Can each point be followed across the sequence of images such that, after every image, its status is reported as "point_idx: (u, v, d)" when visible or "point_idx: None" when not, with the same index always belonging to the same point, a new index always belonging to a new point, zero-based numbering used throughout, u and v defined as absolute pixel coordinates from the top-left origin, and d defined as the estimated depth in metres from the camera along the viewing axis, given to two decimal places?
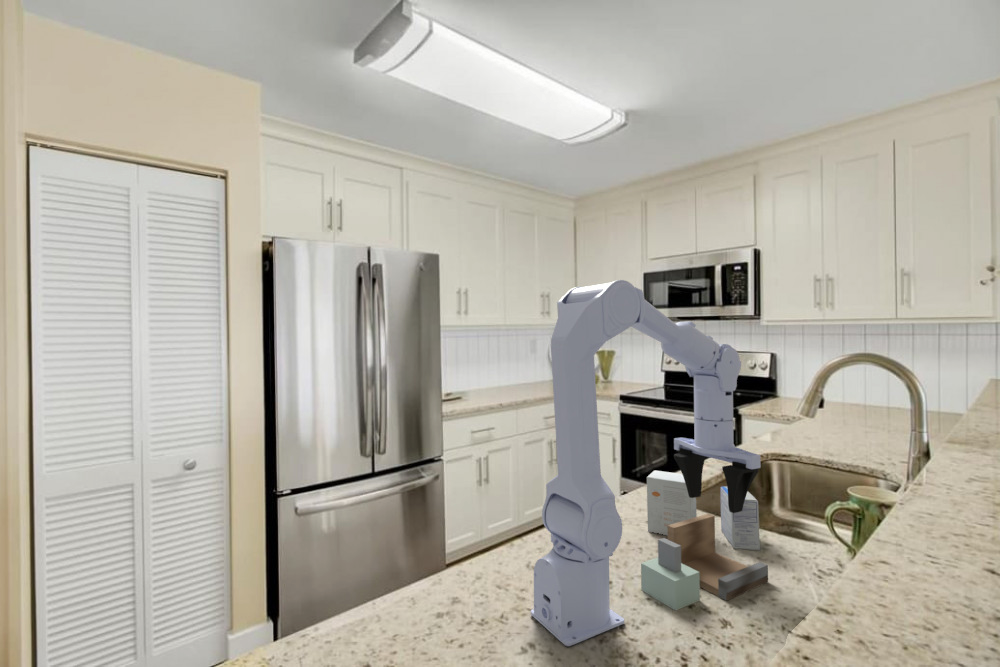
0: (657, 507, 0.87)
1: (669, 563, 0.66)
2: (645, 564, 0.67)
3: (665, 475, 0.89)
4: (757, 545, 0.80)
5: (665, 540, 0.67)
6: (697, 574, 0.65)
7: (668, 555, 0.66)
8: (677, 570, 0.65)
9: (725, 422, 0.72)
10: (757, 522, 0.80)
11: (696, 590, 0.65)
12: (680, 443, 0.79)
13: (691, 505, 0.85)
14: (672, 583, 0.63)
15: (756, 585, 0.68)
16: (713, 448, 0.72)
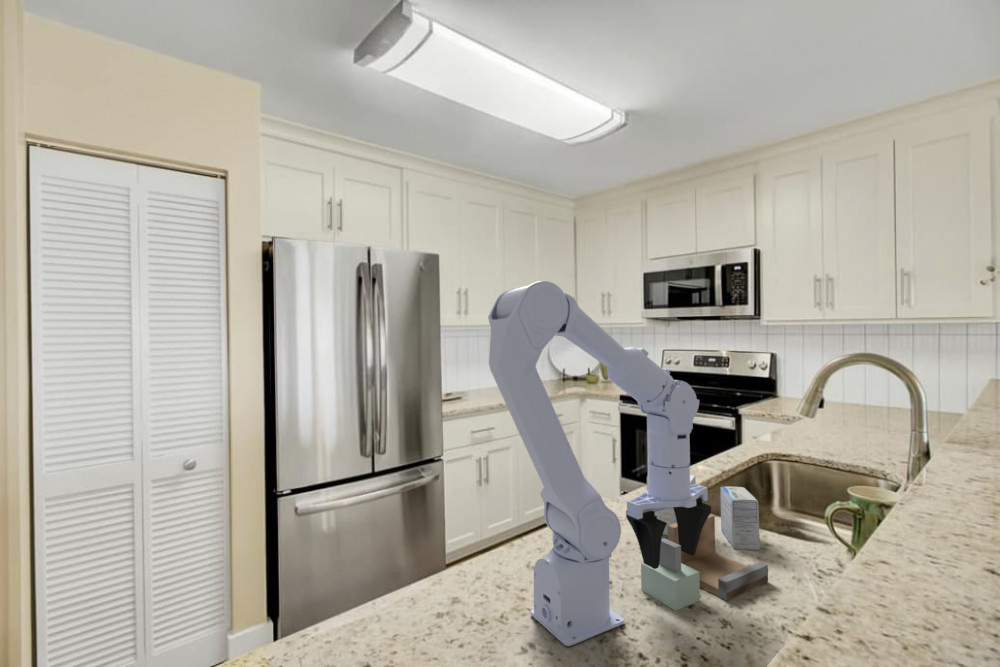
0: None
1: (669, 563, 0.66)
2: (645, 564, 0.67)
3: None
4: (757, 545, 0.80)
5: (665, 540, 0.67)
6: (697, 574, 0.65)
7: (668, 555, 0.66)
8: (677, 570, 0.65)
9: (651, 465, 0.66)
10: (757, 522, 0.80)
11: (696, 590, 0.65)
12: None
13: None
14: (672, 583, 0.63)
15: (756, 585, 0.68)
16: (648, 490, 0.68)
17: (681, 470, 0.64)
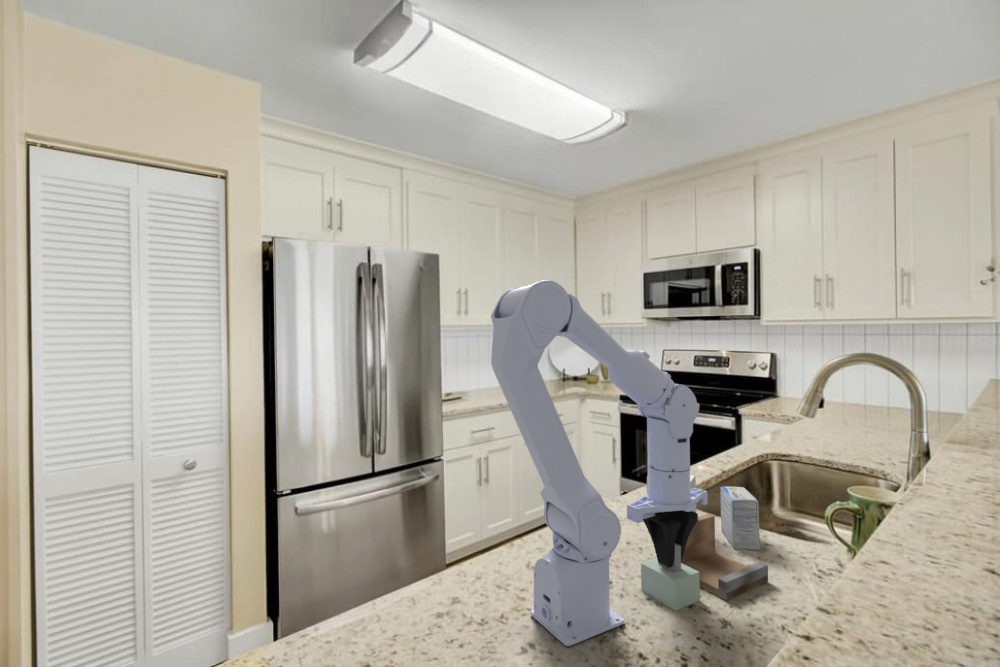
0: None
1: None
2: (645, 564, 0.67)
3: None
4: (757, 545, 0.80)
5: None
6: (697, 574, 0.65)
7: None
8: (677, 570, 0.65)
9: (651, 469, 0.66)
10: (757, 522, 0.80)
11: (696, 590, 0.65)
12: None
13: None
14: (672, 583, 0.63)
15: (756, 585, 0.68)
16: None
17: (681, 474, 0.64)
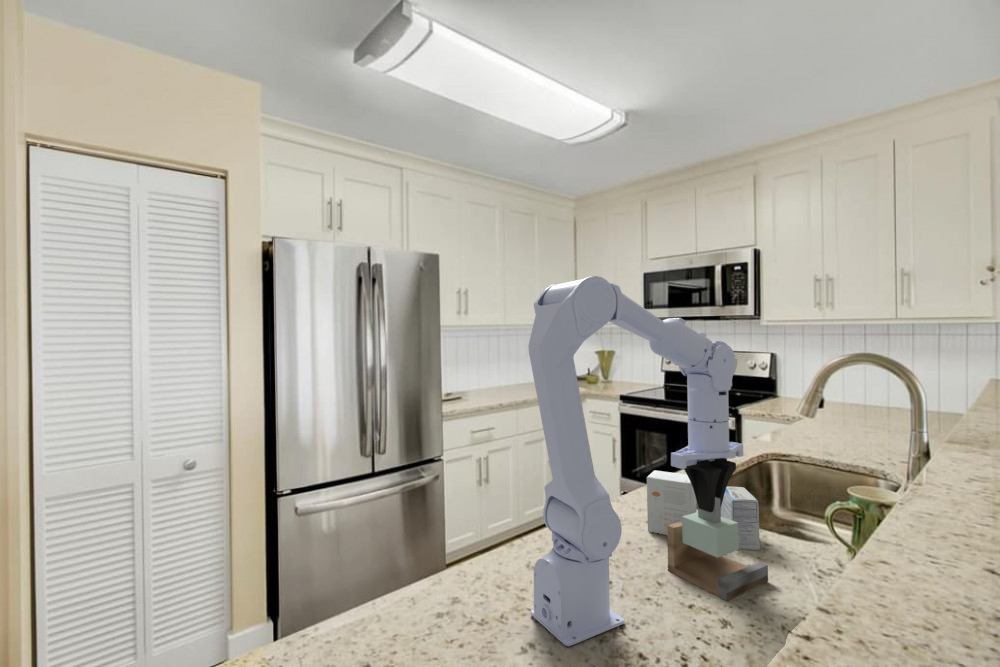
0: (657, 507, 0.87)
1: (709, 515, 0.70)
2: (686, 517, 0.72)
3: (665, 475, 0.89)
4: (757, 545, 0.80)
5: None
6: (736, 524, 0.69)
7: None
8: (717, 521, 0.69)
9: (692, 421, 0.70)
10: (757, 522, 0.80)
11: (735, 540, 0.69)
12: None
13: (691, 505, 0.85)
14: (713, 531, 0.67)
15: (756, 585, 0.68)
16: (688, 445, 0.72)
17: (721, 424, 0.68)
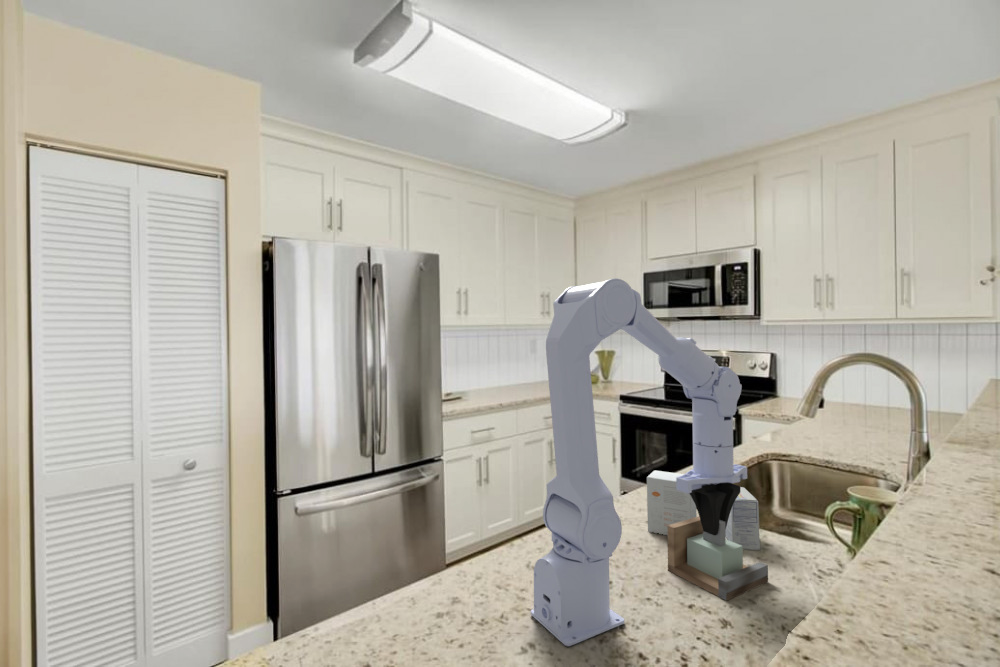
0: (657, 507, 0.87)
1: (714, 538, 0.71)
2: (691, 539, 0.73)
3: (665, 475, 0.89)
4: (757, 545, 0.80)
5: None
6: (740, 548, 0.70)
7: None
8: (722, 544, 0.70)
9: (697, 445, 0.71)
10: (757, 522, 0.80)
11: (739, 563, 0.70)
12: None
13: (691, 505, 0.85)
14: (719, 555, 0.68)
15: (756, 585, 0.68)
16: (693, 468, 0.73)
17: (726, 449, 0.69)
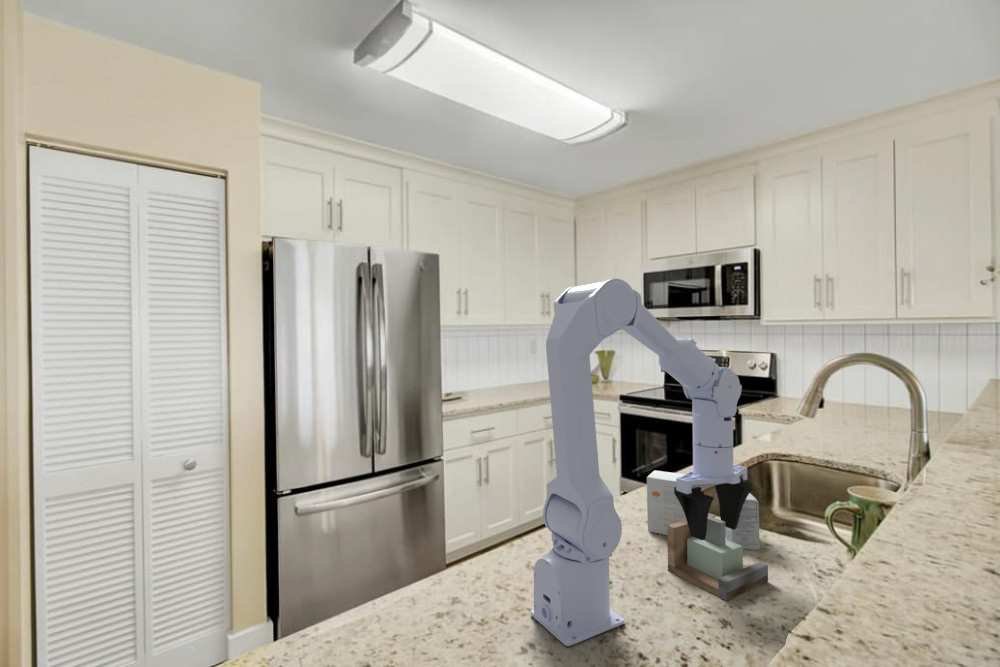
0: (657, 507, 0.87)
1: (714, 538, 0.71)
2: (691, 539, 0.73)
3: (665, 475, 0.89)
4: (757, 545, 0.80)
5: (709, 517, 0.73)
6: (740, 548, 0.70)
7: (713, 531, 0.71)
8: (722, 544, 0.70)
9: (697, 446, 0.71)
10: (757, 522, 0.80)
11: (739, 563, 0.70)
12: None
13: None
14: (719, 555, 0.68)
15: (756, 585, 0.68)
16: (693, 469, 0.73)
17: (726, 450, 0.69)
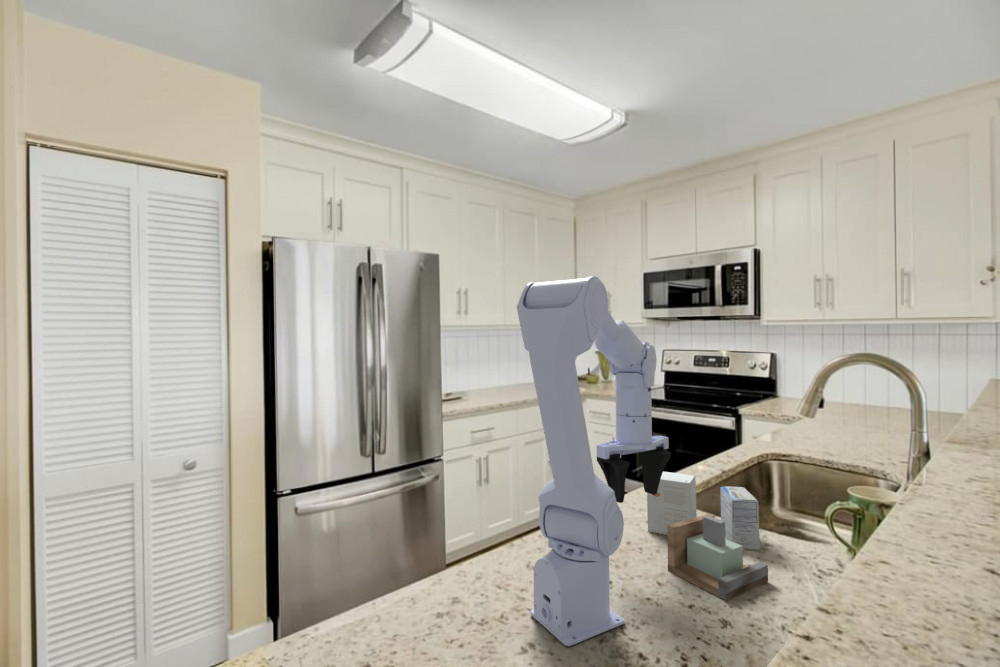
0: (657, 507, 0.87)
1: (714, 538, 0.71)
2: (691, 539, 0.73)
3: (665, 475, 0.89)
4: (757, 545, 0.80)
5: (709, 517, 0.73)
6: (740, 548, 0.70)
7: (713, 531, 0.71)
8: (722, 544, 0.70)
9: (618, 416, 0.76)
10: (757, 522, 0.80)
11: (739, 563, 0.70)
12: None
13: (691, 505, 0.85)
14: (719, 555, 0.68)
15: (756, 585, 0.68)
16: (616, 438, 0.78)
17: (643, 418, 0.74)
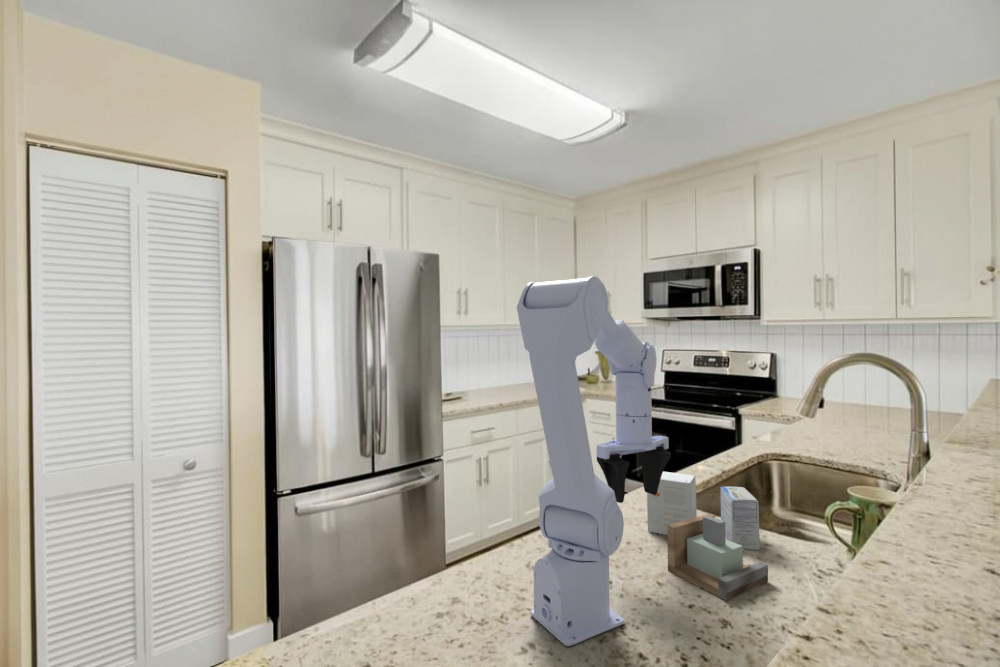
0: (657, 507, 0.87)
1: (714, 538, 0.71)
2: (691, 539, 0.73)
3: (665, 475, 0.89)
4: (757, 545, 0.80)
5: (709, 517, 0.73)
6: (740, 548, 0.70)
7: (713, 531, 0.71)
8: (722, 544, 0.70)
9: (618, 416, 0.76)
10: (757, 522, 0.80)
11: (739, 563, 0.70)
12: None
13: (691, 505, 0.85)
14: (719, 555, 0.68)
15: (756, 585, 0.68)
16: (616, 438, 0.78)
17: (643, 418, 0.74)
